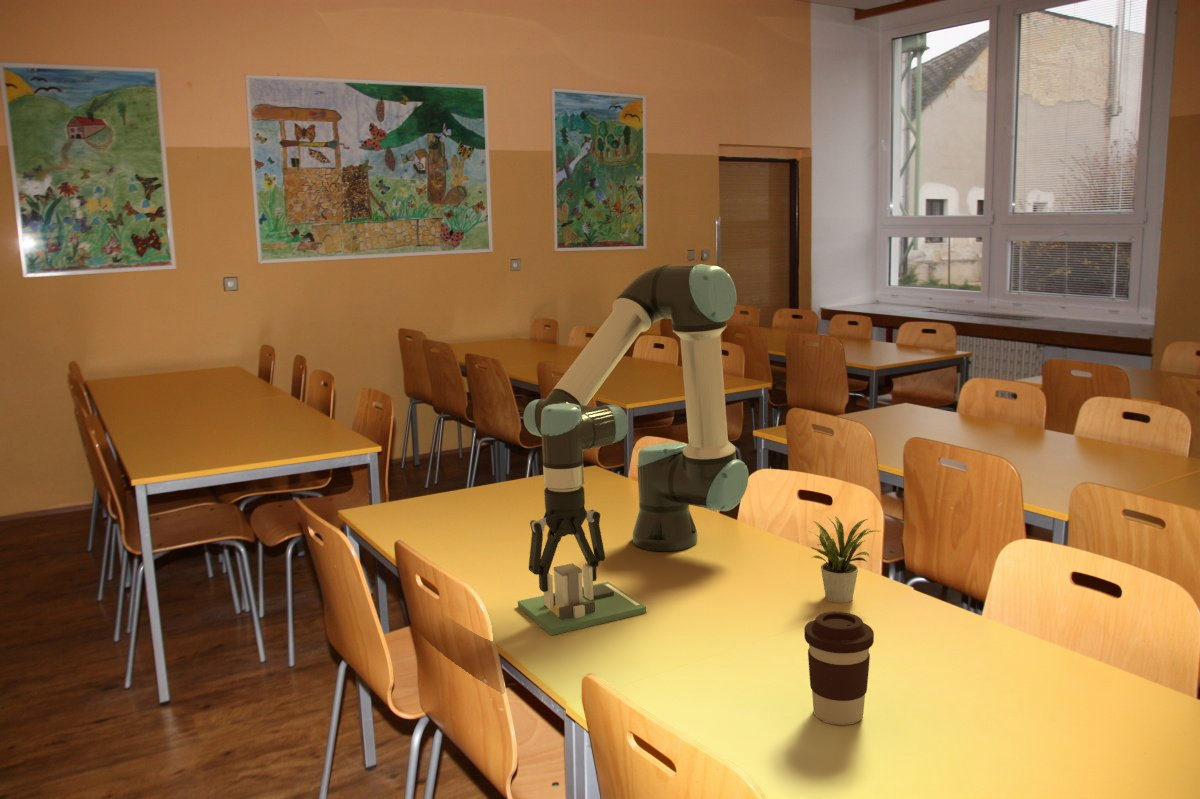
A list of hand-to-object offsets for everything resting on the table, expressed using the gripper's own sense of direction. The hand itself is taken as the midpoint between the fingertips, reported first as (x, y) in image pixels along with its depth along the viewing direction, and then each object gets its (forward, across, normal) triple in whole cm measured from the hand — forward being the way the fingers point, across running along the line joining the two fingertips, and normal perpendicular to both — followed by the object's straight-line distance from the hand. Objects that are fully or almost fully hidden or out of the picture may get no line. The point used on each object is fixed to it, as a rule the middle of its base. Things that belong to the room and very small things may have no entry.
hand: (569, 601), depth 186 cm
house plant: (+3, -50, +21) cm, 54 cm away
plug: (+1, 0, 0) cm, 1 cm away
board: (+3, -3, -1) cm, 4 cm away
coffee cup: (+3, -18, +56) cm, 59 cm away
